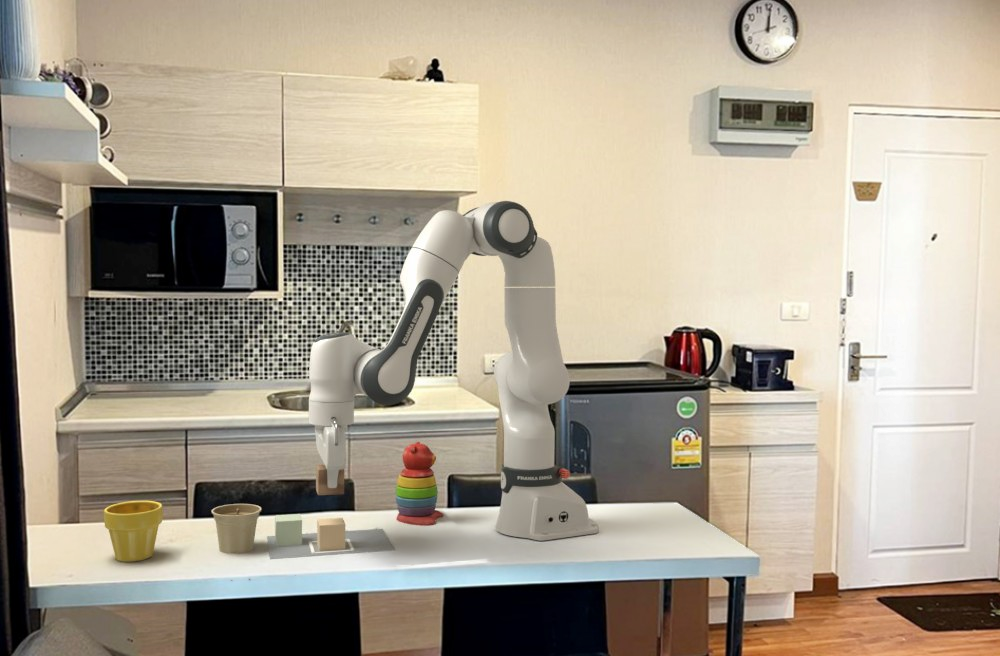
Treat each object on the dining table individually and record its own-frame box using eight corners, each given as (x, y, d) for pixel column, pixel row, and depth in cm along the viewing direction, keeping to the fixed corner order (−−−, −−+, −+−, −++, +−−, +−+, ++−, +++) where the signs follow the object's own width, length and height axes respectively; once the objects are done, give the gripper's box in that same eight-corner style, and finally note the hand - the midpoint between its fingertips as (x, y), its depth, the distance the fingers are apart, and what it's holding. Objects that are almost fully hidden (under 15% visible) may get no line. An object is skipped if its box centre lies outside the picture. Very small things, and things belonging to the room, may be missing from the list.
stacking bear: (433, 530, 192) (433, 448, 192) (388, 527, 194) (389, 446, 194) (446, 517, 203) (446, 440, 202) (403, 514, 205) (404, 438, 204)
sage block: (300, 538, 182) (300, 514, 182) (301, 544, 177) (302, 520, 177) (275, 539, 180) (275, 515, 180) (276, 546, 176) (276, 521, 175)
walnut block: (341, 488, 179) (341, 464, 179) (344, 494, 174) (344, 468, 174) (315, 489, 177) (316, 464, 177) (318, 495, 173) (318, 469, 172)
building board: (382, 532, 190) (382, 505, 190) (395, 553, 175) (395, 524, 174) (267, 540, 183) (267, 512, 183) (269, 563, 168) (270, 532, 167)
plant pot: (103, 567, 164) (103, 515, 163) (105, 552, 173) (104, 502, 173) (163, 561, 168) (163, 510, 167) (161, 547, 177) (161, 498, 177)
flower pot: (269, 547, 178) (269, 505, 177) (248, 561, 169) (248, 516, 168) (226, 544, 180) (226, 502, 179) (202, 558, 170) (202, 513, 170)
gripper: (354, 421, 166) (353, 494, 167) (341, 407, 186) (340, 473, 186) (320, 422, 164) (318, 496, 165) (310, 408, 184) (309, 474, 184)
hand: (330, 483), depth 176 cm, fingers closed on walnut block, 5 cm apart
